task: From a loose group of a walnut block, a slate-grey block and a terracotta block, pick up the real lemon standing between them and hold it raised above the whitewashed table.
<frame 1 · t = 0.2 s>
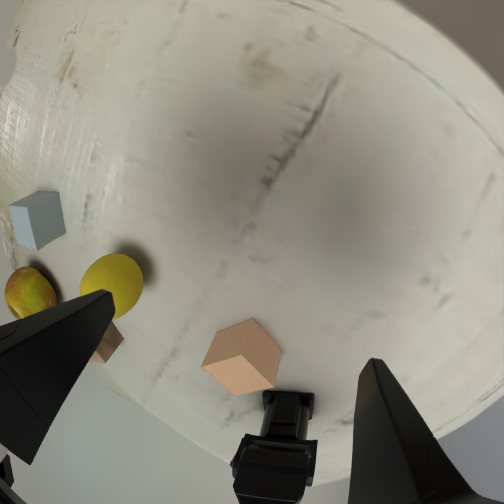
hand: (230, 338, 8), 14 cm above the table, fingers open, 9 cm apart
terracotta block: (249, 341, 28), on the table
fruit: (46, 282, 33), on the table
lemon: (135, 263, 26), on the table
slate block: (51, 211, 26), on the table
walnut block: (104, 325, 33), on the table
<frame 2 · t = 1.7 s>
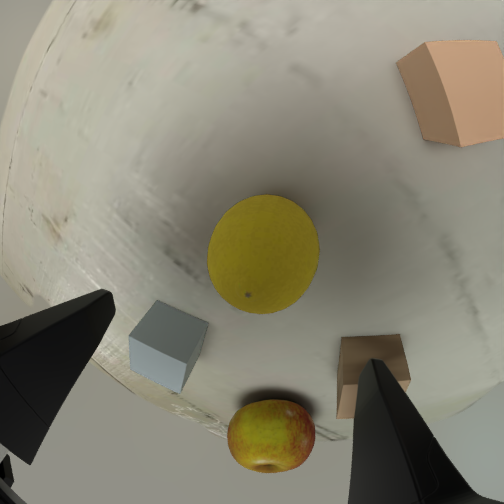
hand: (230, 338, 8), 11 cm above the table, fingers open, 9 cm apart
terracotta block: (442, 94, 11), on the table
fruit: (277, 406, 27), on the table
lemon: (276, 222, 18), on the table
slate block: (179, 329, 24), on the table
walnut block: (367, 355, 21), on the table
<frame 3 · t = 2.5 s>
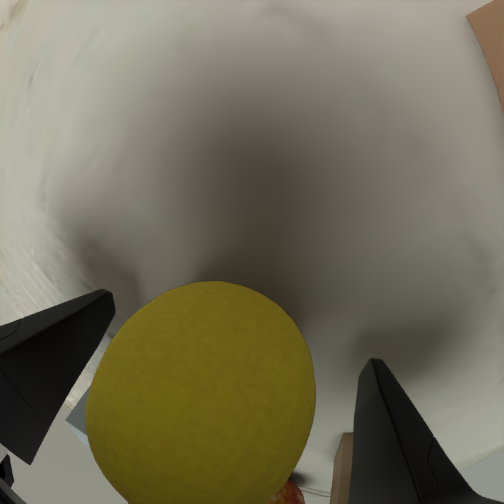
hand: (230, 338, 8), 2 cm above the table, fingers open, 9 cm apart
fruit: (262, 474, 19), on the table
lemon: (244, 303, 10), on the table
slate block: (134, 401, 16), on the table
walnut block: (374, 444, 13), on the table
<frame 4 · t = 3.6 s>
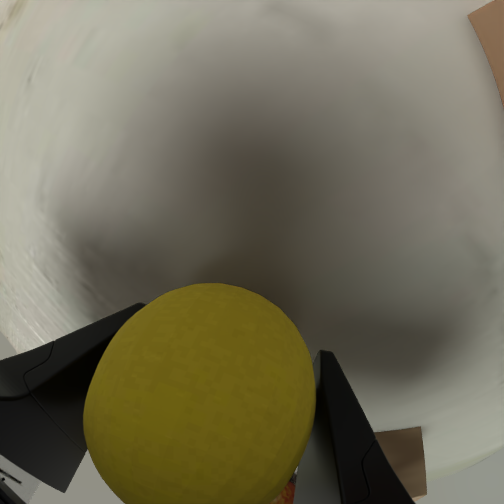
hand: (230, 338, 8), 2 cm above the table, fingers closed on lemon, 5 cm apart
fruit: (261, 475, 19), on the table
lemon: (244, 304, 10), on the table, touching gripper
walnut block: (374, 445, 13), on the table
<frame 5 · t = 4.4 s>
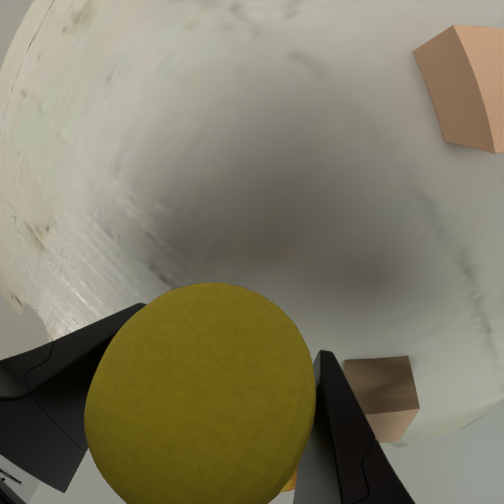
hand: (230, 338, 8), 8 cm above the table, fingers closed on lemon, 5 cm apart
terracotta block: (464, 90, 9), on the table
lemon: (244, 304, 10), point 6 cm above the table, touching gripper
walnut block: (371, 377, 19), on the table
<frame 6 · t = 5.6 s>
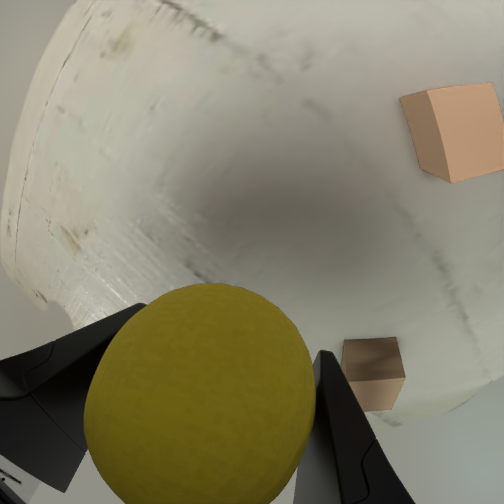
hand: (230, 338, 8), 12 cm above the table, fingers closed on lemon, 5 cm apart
terracotta block: (439, 126, 14), on the table
lemon: (244, 305, 10), point 11 cm above the table, touching gripper
walnut block: (366, 356, 23), on the table
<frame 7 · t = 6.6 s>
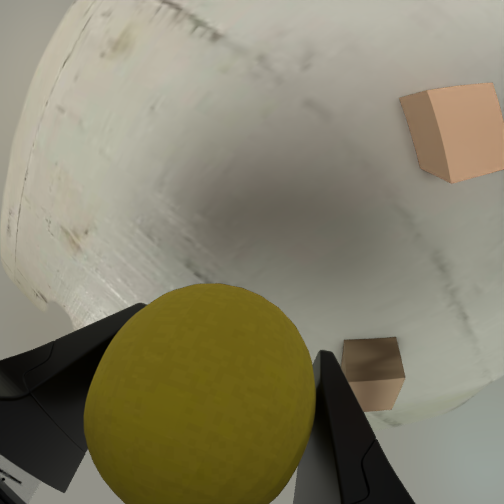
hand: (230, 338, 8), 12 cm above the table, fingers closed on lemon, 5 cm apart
terracotta block: (439, 126, 14), on the table
lemon: (244, 305, 10), point 11 cm above the table, touching gripper
walnut block: (367, 356, 23), on the table
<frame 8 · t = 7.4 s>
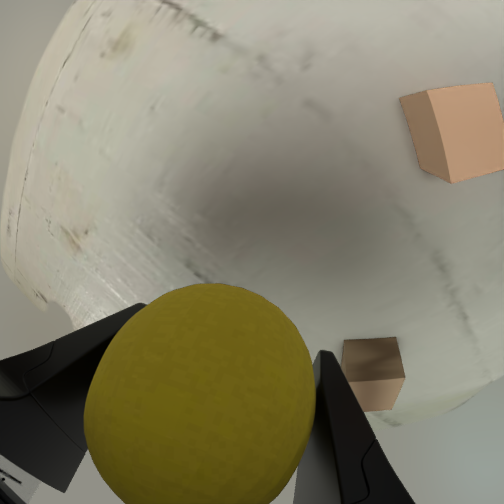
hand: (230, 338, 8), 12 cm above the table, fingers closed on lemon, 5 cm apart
terracotta block: (439, 126, 14), on the table
lemon: (244, 305, 10), point 11 cm above the table, touching gripper
walnut block: (367, 356, 23), on the table
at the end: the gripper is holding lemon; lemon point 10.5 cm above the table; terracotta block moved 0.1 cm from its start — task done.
